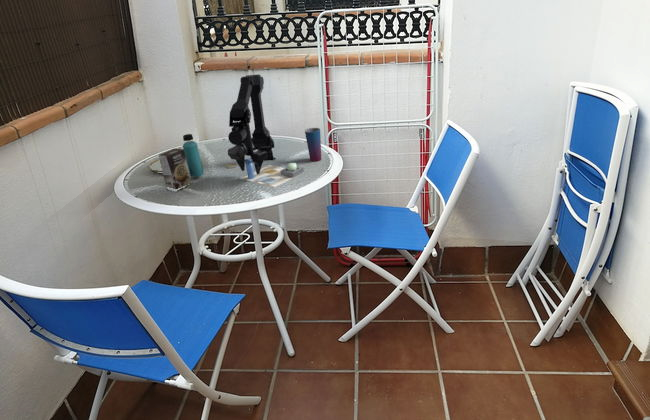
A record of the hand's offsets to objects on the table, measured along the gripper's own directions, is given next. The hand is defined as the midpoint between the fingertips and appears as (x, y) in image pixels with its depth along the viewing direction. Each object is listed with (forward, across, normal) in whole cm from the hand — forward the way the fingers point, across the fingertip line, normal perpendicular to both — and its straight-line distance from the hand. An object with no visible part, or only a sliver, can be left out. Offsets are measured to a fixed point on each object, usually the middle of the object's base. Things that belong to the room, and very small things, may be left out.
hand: (250, 172), depth 206 cm
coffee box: (+4, -24, -20) cm, 31 cm away
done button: (+1, +14, +11) cm, 18 cm away
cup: (+4, +12, +29) cm, 32 cm away
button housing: (+2, +14, +11) cm, 18 cm away
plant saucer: (+4, -49, -4) cm, 49 cm away
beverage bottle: (+4, -26, -9) cm, 28 cm away
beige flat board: (+3, +6, +6) cm, 9 cm away
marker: (+2, 0, 0) cm, 2 cm away
